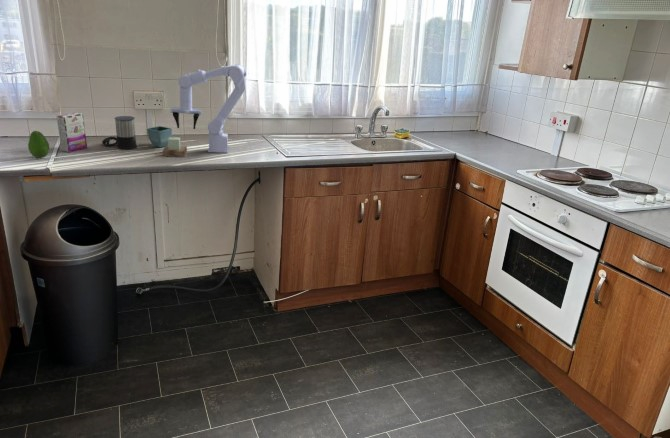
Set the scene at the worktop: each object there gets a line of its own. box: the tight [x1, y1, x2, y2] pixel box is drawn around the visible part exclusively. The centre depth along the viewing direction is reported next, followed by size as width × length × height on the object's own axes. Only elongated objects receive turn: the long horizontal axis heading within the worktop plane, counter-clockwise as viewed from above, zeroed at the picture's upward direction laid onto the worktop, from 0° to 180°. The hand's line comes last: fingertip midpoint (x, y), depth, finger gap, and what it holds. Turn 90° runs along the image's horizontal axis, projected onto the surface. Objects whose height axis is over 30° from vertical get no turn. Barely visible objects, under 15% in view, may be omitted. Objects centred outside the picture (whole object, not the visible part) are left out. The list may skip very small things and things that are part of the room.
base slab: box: [162, 145, 188, 158], centre depth 243 cm, size 10×10×2 cm
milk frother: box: [101, 115, 138, 151], centre depth 245 cm, size 14×16×15 cm
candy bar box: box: [56, 112, 88, 153], centre depth 235 cm, size 11×5×16 cm, turn 161°
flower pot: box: [146, 125, 173, 148], centre depth 253 cm, size 9×9×9 cm
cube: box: [168, 136, 182, 150], centre depth 241 cm, size 5×5×5 cm
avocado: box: [27, 130, 50, 159], centre depth 219 cm, size 8×8×12 cm
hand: (186, 128), depth 250 cm, fingers open, 7 cm apart
